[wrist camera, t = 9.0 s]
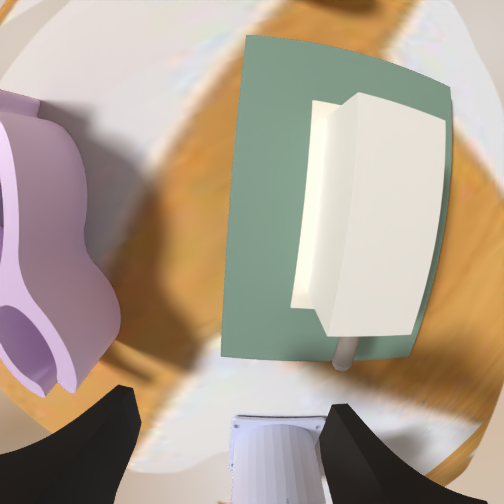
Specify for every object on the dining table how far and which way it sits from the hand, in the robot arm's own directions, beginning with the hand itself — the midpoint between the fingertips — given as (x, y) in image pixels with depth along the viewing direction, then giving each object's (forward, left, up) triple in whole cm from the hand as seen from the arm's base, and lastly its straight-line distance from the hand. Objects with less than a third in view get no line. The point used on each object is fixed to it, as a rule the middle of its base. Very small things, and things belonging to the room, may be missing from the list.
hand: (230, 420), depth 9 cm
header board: (+7, -6, -9) cm, 13 cm away
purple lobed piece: (+4, +16, -10) cm, 19 cm away
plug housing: (+5, -6, -8) cm, 11 cm away
